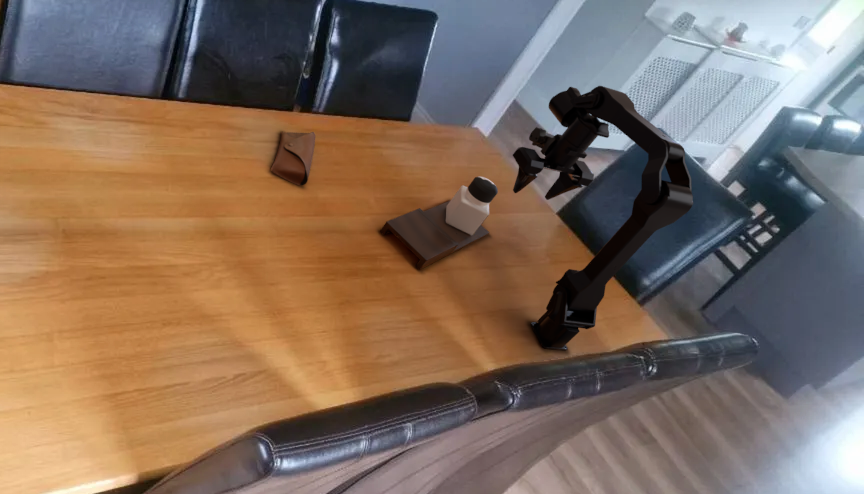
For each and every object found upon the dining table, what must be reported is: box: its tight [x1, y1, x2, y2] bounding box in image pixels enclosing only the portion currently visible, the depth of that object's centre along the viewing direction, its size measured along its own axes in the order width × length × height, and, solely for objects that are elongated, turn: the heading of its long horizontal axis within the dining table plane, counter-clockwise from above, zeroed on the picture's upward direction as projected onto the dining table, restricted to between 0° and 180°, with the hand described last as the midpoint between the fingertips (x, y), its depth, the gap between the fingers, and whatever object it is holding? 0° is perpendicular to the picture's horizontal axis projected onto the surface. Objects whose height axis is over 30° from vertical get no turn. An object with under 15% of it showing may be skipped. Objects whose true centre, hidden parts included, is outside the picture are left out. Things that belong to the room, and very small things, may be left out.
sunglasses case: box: [270, 131, 316, 187], centre depth 157 cm, size 18×7×7 cm, turn 174°
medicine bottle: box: [446, 176, 499, 235], centre depth 161 cm, size 7×7×12 cm
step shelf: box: [379, 199, 490, 270], centre depth 158 cm, size 30×12×3 cm, turn 135°
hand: (530, 195), depth 157 cm, fingers open, 9 cm apart
